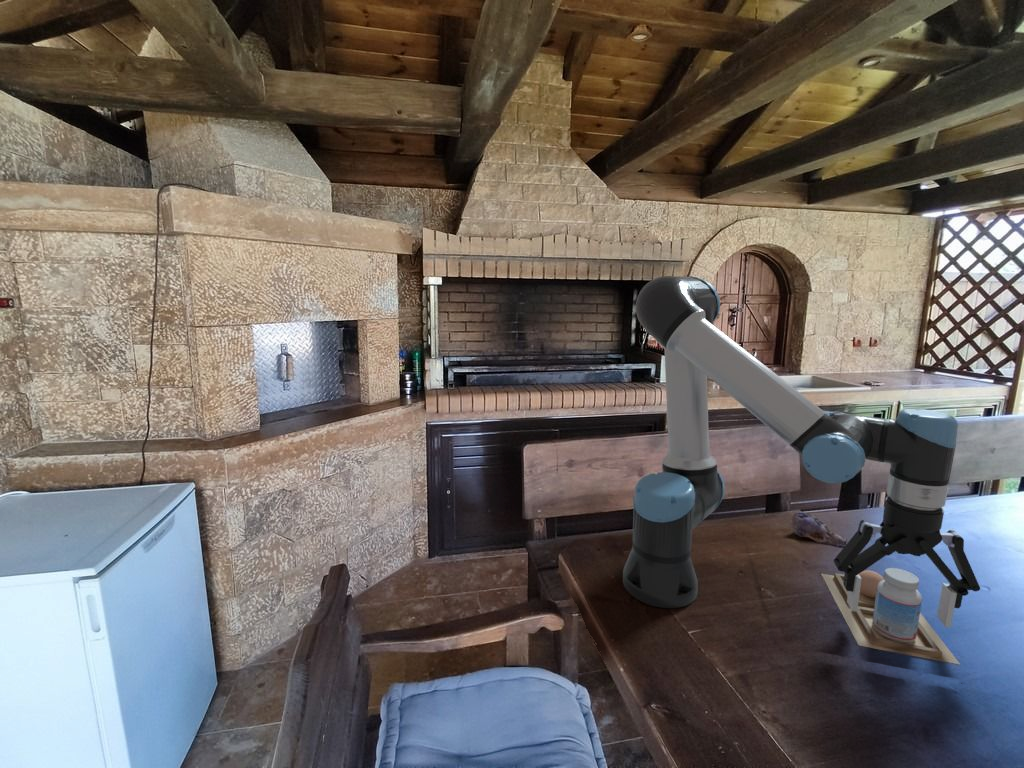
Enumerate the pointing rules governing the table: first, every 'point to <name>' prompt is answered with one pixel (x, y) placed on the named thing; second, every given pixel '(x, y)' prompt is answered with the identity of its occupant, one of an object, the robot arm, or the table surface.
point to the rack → (867, 636)
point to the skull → (815, 529)
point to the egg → (870, 582)
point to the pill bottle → (897, 606)
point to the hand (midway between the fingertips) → (896, 614)
